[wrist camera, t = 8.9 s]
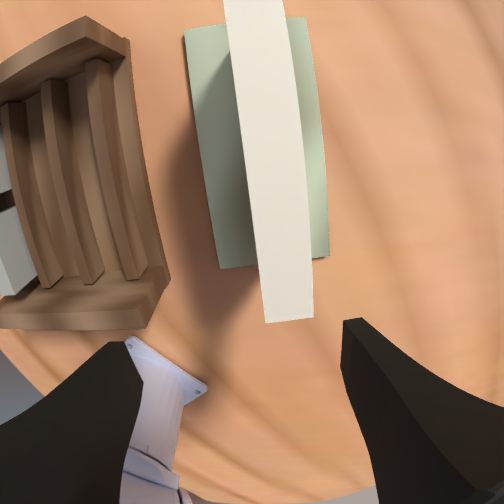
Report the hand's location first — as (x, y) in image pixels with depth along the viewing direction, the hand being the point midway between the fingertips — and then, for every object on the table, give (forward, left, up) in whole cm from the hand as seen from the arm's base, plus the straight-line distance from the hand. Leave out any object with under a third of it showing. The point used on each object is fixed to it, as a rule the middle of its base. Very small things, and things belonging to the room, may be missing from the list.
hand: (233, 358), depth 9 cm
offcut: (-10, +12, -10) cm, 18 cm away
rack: (-1, +9, -10) cm, 14 cm away
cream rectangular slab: (+5, +3, -10) cm, 12 cm away
